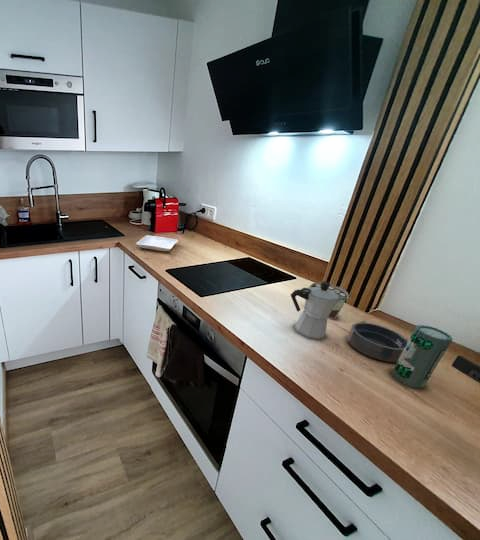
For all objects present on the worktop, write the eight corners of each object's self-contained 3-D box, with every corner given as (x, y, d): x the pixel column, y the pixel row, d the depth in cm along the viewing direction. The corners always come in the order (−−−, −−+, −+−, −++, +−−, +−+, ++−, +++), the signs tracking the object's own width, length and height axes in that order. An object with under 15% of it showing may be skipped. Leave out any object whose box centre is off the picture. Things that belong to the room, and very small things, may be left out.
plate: (146, 239, 184) (146, 234, 183) (178, 244, 177) (179, 239, 175) (134, 248, 166) (135, 243, 165) (170, 254, 159) (170, 249, 157)
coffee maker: (325, 327, 97) (343, 279, 90) (336, 342, 89) (357, 292, 82) (277, 320, 100) (291, 273, 93) (284, 334, 92) (300, 285, 85)
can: (391, 367, 79) (415, 322, 73) (421, 378, 76) (449, 331, 70) (392, 380, 75) (418, 332, 69) (424, 392, 71) (454, 343, 65)
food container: (346, 316, 104) (356, 292, 100) (339, 321, 100) (349, 296, 96) (310, 302, 113) (318, 279, 109) (302, 306, 110) (310, 283, 106)
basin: (393, 342, 90) (399, 329, 88) (411, 369, 79) (419, 355, 77) (342, 331, 95) (347, 318, 93) (353, 355, 84) (359, 341, 82)
